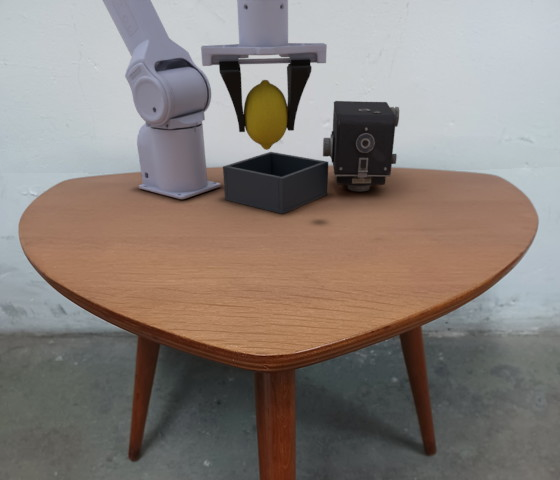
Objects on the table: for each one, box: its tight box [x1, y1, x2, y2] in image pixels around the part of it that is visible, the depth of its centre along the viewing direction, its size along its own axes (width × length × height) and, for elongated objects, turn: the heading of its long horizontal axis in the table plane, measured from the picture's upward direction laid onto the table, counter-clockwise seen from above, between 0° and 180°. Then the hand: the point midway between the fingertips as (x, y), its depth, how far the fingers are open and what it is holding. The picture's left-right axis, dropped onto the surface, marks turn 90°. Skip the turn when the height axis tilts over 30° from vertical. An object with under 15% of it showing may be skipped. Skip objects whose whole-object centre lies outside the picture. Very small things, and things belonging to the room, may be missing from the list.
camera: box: [322, 100, 400, 192], centre depth 79 cm, size 11×11×15 cm
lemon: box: [243, 79, 288, 151], centre depth 69 cm, size 6×6×8 cm
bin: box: [222, 151, 329, 215], centre depth 76 cm, size 10×10×4 cm
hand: (265, 129), depth 70 cm, fingers closed on lemon, 5 cm apart
